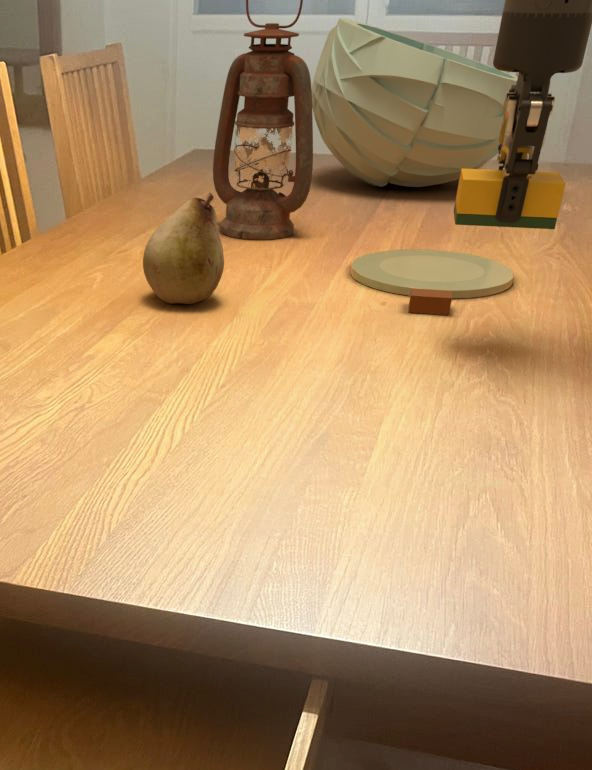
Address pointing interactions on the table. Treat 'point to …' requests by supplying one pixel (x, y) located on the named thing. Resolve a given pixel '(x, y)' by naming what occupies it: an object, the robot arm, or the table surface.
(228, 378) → the table surface
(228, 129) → the lantern
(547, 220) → the sponge
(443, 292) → the brown rectangular block
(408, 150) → the bowl
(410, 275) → the plate
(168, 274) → the fruit
